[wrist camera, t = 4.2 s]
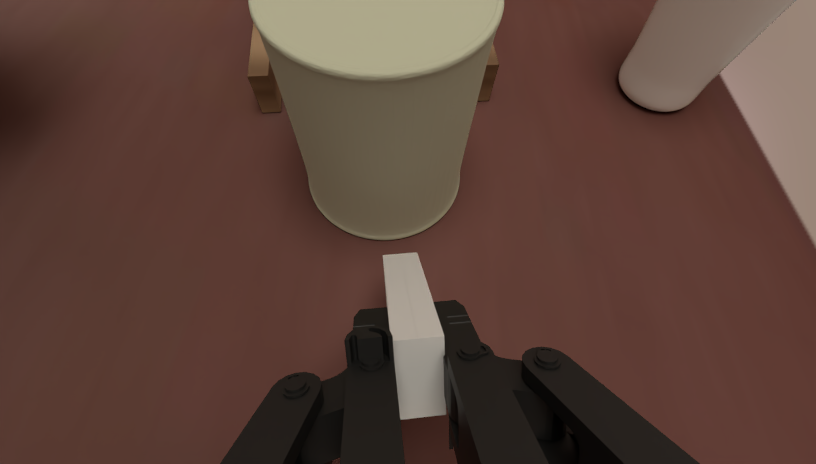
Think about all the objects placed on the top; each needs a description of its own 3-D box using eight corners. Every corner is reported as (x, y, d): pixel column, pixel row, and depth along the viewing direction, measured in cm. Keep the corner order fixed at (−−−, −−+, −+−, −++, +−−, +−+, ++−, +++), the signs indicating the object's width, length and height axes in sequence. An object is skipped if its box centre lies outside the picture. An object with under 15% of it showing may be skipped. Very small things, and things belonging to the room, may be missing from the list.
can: (368, 97, 27) (351, -120, 16) (485, 159, 25) (553, -45, 14) (277, 189, 24) (180, -13, 13) (405, 271, 21) (416, 110, 11)
